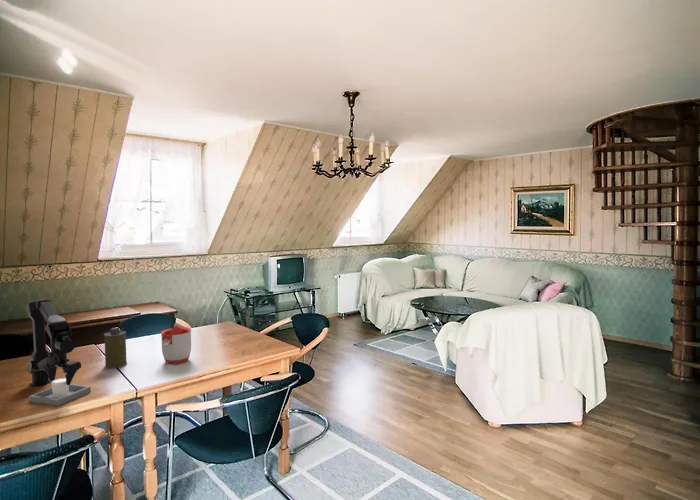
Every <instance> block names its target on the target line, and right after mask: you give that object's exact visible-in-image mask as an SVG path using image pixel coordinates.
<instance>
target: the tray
mask: <svg viewBox="0 0 700 500" xmlns="http://www.w3.org/2000/svg"><path fill="white" fill-rule="evenodd" d="M91 389H92V388H91V386H89V385H88V386H87V385H82V384H75V383H70V385H69V395H67V396H65V397H62V398H53V392H52V386H51V387H49V388H46V389H44V390H42V391H39V392H36V393H34V394H30V395H29V399H28V401H29V403H35V404H43V405H48V406H53V407H60V406H62V405H64V404H67V403H69V402H71V401H73V400H76V399H77V398H80V397H82V396H85V395H87V394H89V393H91V392H92V390H91Z"/></svg>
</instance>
